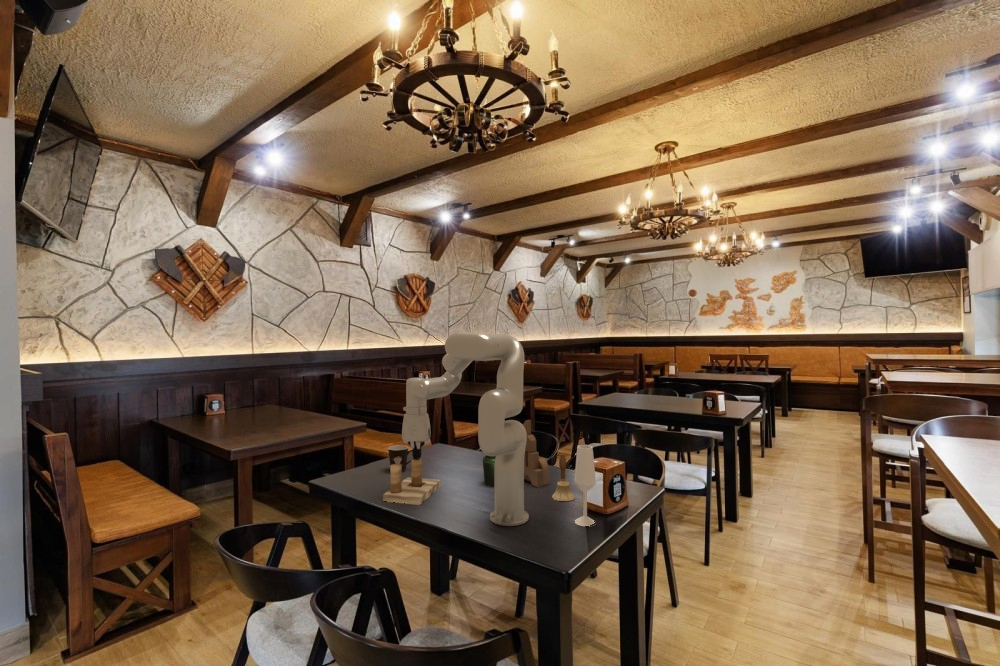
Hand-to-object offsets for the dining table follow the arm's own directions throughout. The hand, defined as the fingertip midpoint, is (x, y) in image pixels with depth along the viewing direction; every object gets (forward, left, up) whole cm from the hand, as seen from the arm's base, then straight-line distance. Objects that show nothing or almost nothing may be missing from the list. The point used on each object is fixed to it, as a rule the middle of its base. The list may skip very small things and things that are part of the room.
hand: (416, 458), depth 175 cm
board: (-3, 0, -12) cm, 13 cm away
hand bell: (+6, -55, -13) cm, 57 cm away
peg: (0, 0, -12) cm, 12 cm away
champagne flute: (-14, -64, -13) cm, 67 cm away
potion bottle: (+15, -26, -13) cm, 32 cm away
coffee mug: (+22, +17, -13) cm, 31 cm away
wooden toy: (+22, -40, -13) cm, 47 cm away
